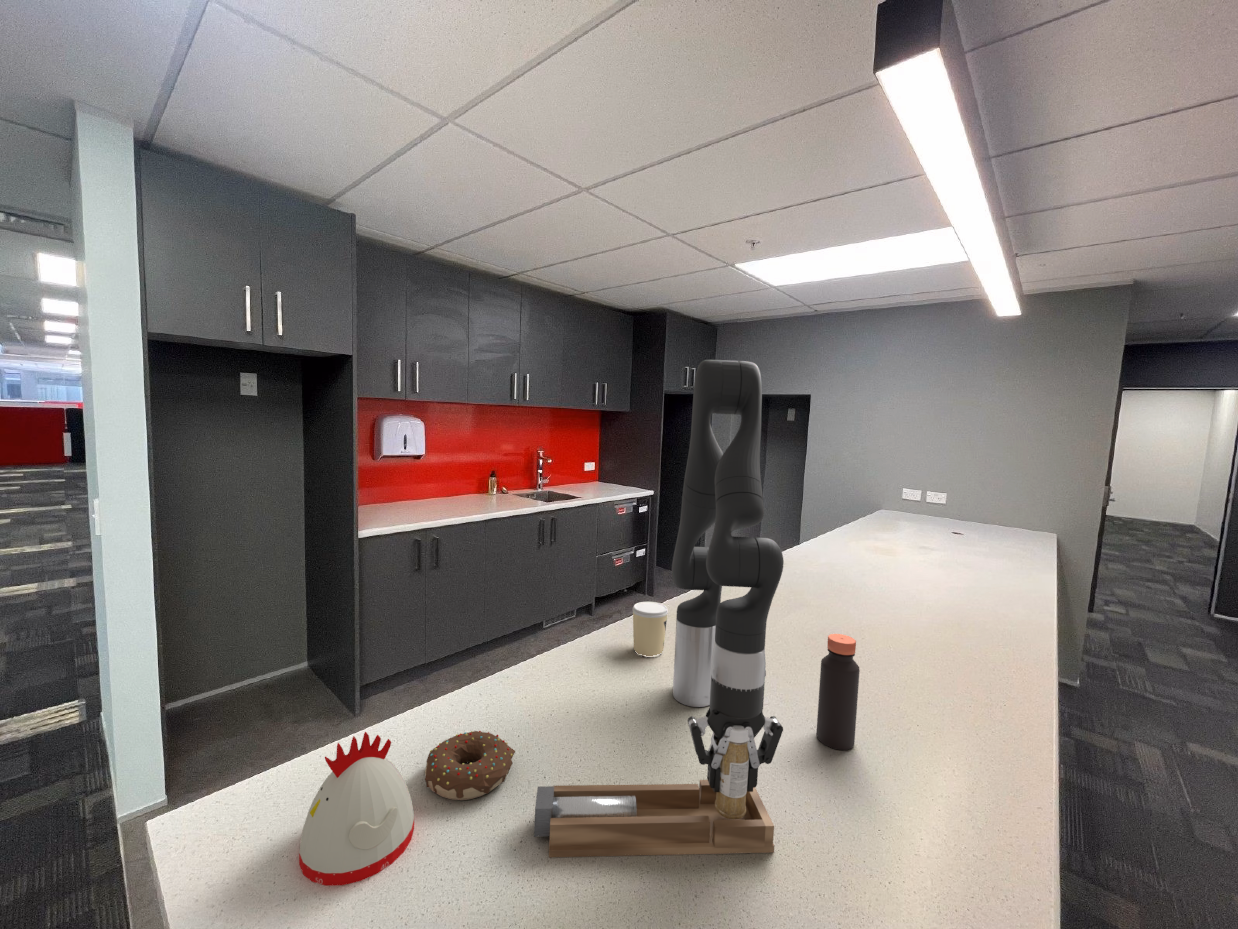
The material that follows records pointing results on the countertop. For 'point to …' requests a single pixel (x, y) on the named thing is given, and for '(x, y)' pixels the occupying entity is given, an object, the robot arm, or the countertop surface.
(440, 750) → the donut
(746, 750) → the sprinkles bottle
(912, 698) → the countertop surface
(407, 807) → the kitchen timer
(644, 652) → the coffee cup
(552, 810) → the shaft
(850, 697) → the vinegar
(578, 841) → the tray
